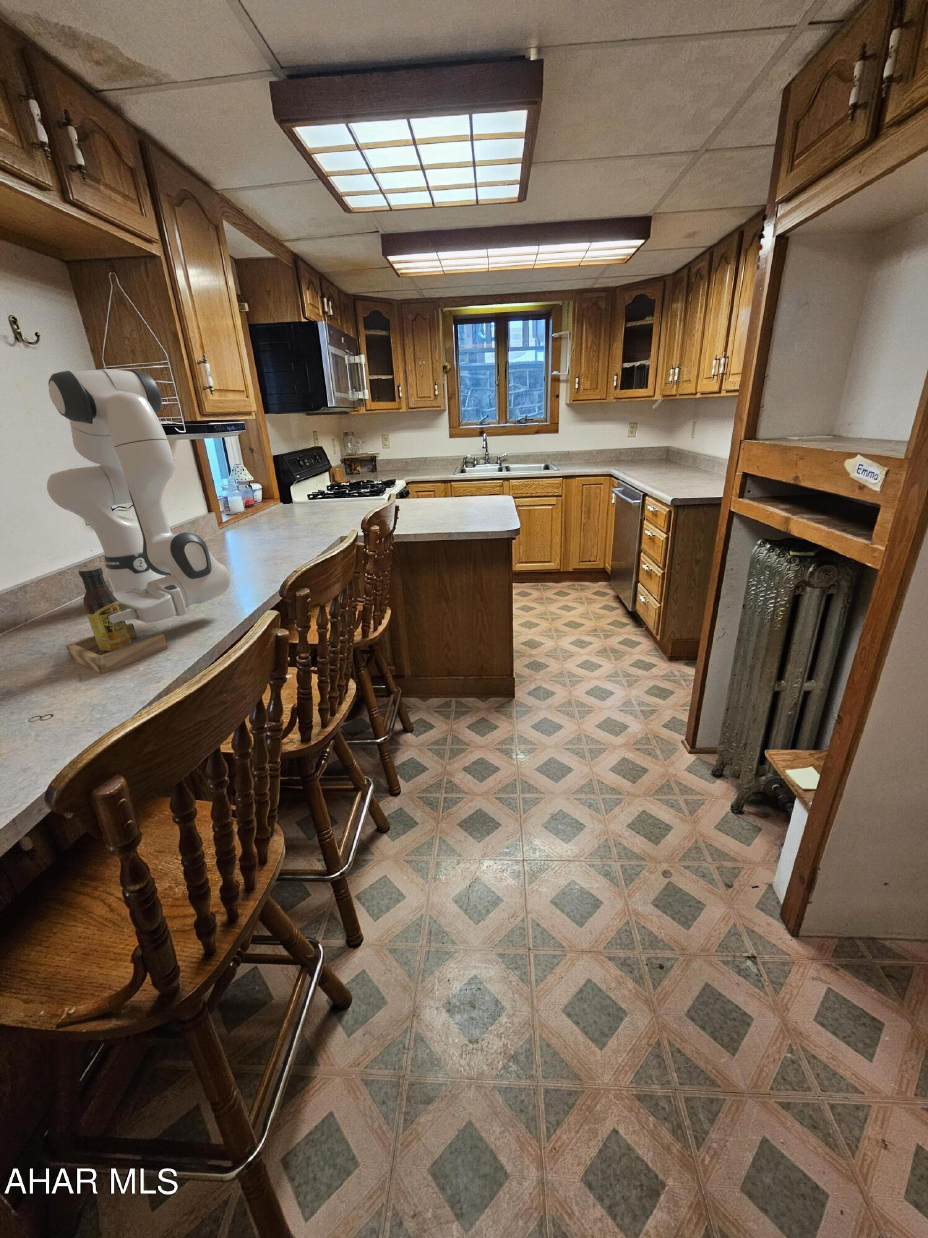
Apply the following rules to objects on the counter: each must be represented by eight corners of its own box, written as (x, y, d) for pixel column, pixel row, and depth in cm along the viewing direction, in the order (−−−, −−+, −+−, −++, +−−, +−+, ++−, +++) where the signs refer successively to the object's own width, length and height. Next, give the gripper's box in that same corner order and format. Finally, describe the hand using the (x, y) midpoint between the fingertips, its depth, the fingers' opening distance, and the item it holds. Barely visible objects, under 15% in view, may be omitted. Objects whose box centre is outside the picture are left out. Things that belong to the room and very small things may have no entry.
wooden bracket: (168, 647, 112) (163, 634, 111) (102, 673, 101) (96, 659, 100) (135, 636, 120) (130, 623, 119) (71, 659, 110) (65, 645, 108)
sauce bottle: (118, 659, 107) (85, 573, 99) (95, 658, 108) (61, 573, 101) (141, 646, 113) (112, 564, 105) (119, 645, 114) (89, 564, 107)
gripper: (138, 579, 121) (75, 597, 111) (182, 589, 111) (117, 610, 100) (146, 602, 124) (85, 622, 113) (190, 615, 113) (127, 638, 103)
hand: (100, 616), depth 107 cm, fingers closed on sauce bottle, 6 cm apart
